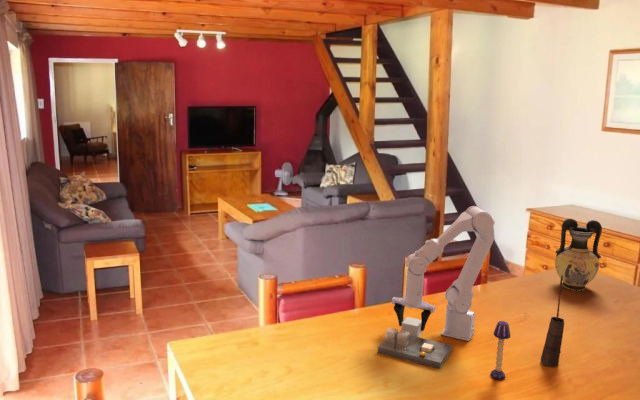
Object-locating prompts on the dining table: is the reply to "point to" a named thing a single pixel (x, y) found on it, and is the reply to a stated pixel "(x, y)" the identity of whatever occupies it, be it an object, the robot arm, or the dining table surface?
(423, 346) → the button
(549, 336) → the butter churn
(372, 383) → the dining table surface
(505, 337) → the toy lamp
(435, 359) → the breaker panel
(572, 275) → the amphora
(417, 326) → the cap
